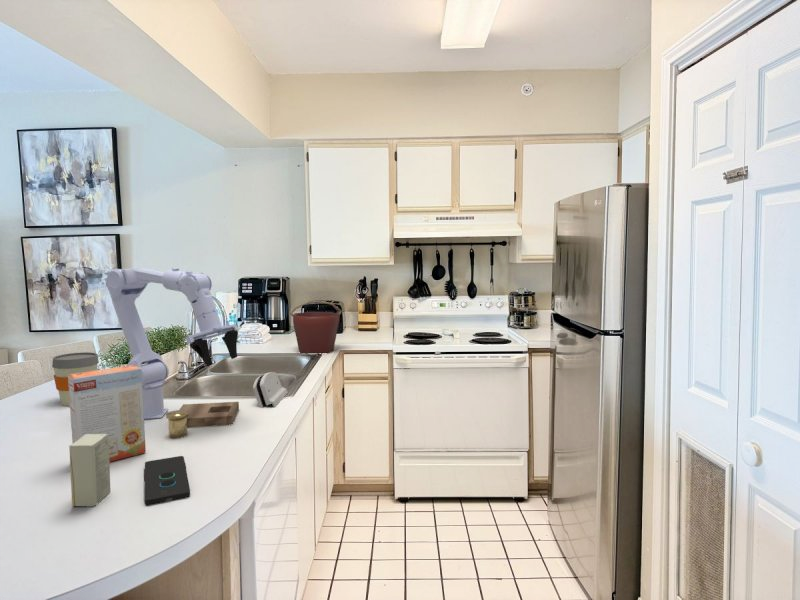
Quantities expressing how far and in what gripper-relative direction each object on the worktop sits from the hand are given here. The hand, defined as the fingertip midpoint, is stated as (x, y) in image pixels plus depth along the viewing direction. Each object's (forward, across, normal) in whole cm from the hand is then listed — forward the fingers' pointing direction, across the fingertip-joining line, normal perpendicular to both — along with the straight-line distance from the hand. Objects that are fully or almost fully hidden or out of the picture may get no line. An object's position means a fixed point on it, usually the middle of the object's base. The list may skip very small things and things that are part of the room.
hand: (222, 361), depth 137 cm
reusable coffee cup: (-5, -18, +60) cm, 63 cm away
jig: (+14, -1, +16) cm, 21 cm away
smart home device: (+22, -29, -13) cm, 38 cm away
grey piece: (+16, +22, +18) cm, 33 cm away
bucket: (+5, +88, +68) cm, 111 cm away
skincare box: (+19, -42, -11) cm, 47 cm away
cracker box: (+14, -31, +7) cm, 34 cm away
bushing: (+15, -13, +9) cm, 22 cm away
